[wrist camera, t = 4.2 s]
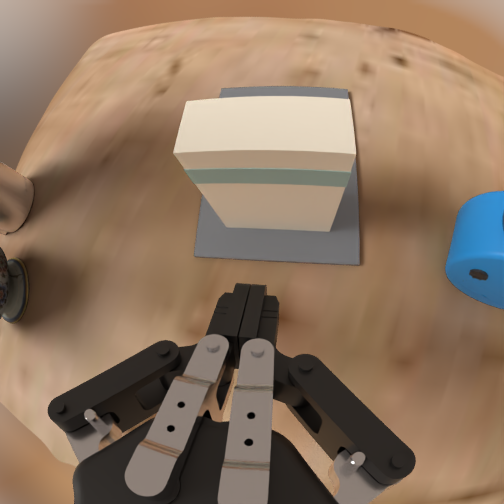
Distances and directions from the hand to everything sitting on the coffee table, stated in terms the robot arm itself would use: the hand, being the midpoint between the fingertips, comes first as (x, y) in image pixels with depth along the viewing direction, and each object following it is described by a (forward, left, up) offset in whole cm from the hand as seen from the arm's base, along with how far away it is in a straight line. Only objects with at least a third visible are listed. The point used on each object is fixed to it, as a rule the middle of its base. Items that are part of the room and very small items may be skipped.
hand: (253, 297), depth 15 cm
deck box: (+6, +8, -12) cm, 16 cm away
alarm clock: (+20, -9, -13) cm, 26 cm away
